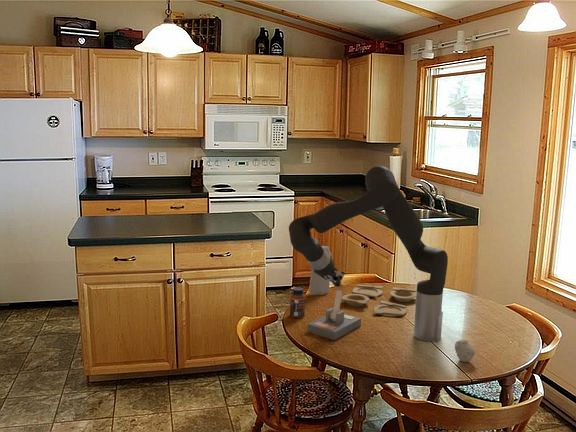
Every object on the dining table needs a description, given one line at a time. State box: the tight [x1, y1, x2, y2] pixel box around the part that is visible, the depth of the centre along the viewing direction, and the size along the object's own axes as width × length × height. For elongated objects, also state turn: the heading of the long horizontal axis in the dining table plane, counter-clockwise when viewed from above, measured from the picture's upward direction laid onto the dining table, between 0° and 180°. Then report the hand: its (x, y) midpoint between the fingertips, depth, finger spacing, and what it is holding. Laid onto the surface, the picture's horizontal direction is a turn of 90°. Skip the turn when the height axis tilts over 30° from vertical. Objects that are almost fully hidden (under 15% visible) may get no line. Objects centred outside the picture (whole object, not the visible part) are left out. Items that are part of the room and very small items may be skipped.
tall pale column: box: [309, 245, 332, 296], centre depth 246 cm, size 11×4×22 cm, turn 112°
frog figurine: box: [454, 339, 476, 363], centre depth 183 cm, size 6×7×7 cm
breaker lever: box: [330, 283, 348, 321], centre depth 208 cm, size 4×2×14 cm, turn 52°
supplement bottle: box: [289, 286, 306, 319], centre depth 220 cm, size 6×6×11 cm
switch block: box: [306, 307, 362, 341], centre depth 208 cm, size 12×18×7 cm, turn 142°
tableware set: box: [341, 284, 417, 318], centre depth 240 cm, size 35×29×4 cm
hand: (338, 284), depth 207 cm, fingers closed
